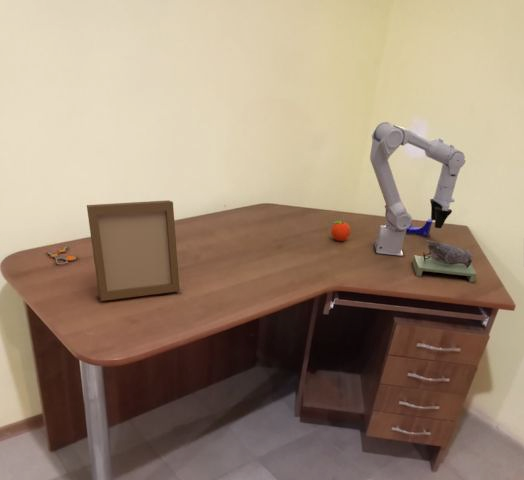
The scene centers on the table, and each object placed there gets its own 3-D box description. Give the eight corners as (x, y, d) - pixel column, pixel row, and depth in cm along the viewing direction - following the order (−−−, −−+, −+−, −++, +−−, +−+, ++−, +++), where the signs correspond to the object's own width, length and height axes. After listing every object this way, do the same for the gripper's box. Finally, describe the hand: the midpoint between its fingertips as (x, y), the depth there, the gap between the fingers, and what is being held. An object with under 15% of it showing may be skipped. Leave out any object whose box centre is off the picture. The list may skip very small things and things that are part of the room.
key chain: (78, 262, 160) (78, 260, 160) (54, 266, 157) (53, 263, 156) (68, 246, 169) (68, 244, 168) (45, 250, 166) (44, 247, 165)
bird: (470, 271, 171) (477, 250, 167) (421, 264, 173) (426, 243, 169) (468, 264, 176) (475, 244, 171) (420, 257, 177) (425, 237, 173)
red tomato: (325, 241, 191) (328, 222, 187) (329, 234, 196) (332, 216, 193) (347, 245, 189) (350, 226, 185) (350, 238, 195) (353, 220, 191)
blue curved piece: (396, 229, 207) (399, 215, 203) (399, 226, 210) (403, 212, 207) (425, 237, 202) (429, 223, 198) (428, 234, 205) (432, 220, 202)
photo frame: (179, 294, 149) (178, 209, 135) (101, 304, 141) (91, 214, 127) (166, 271, 160) (164, 191, 146) (93, 279, 152) (83, 195, 138)
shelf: (416, 275, 172) (418, 267, 170) (412, 263, 180) (414, 255, 179) (474, 282, 171) (476, 274, 170) (467, 269, 180) (469, 261, 178)
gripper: (462, 193, 171) (451, 232, 179) (453, 180, 183) (443, 217, 191) (440, 191, 172) (430, 230, 179) (433, 178, 184) (424, 216, 191)
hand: (435, 223), depth 185 cm, fingers open, 7 cm apart
